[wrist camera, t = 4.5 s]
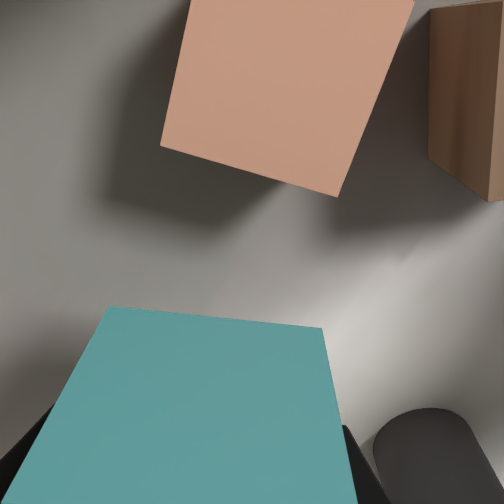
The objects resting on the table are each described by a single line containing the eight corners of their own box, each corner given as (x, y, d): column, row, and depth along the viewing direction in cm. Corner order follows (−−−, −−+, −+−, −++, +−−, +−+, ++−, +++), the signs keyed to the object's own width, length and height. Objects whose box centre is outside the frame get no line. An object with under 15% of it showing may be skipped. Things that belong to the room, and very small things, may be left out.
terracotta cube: (366, 9, 15) (415, 1, 11) (314, 153, 17) (337, 197, 13) (220, -42, 15) (207, -74, 10) (184, 114, 17) (159, 145, 12)
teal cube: (321, 327, 11) (364, 534, 7) (290, 475, 13) (306, 707, 9) (108, 306, 11) (0, 502, 6) (111, 458, 13) (33, 686, 8)
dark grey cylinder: (485, 412, 23) (543, 506, 18) (455, 482, 25) (500, 582, 21) (385, 403, 23) (419, 497, 18) (363, 475, 25) (388, 574, 20)
